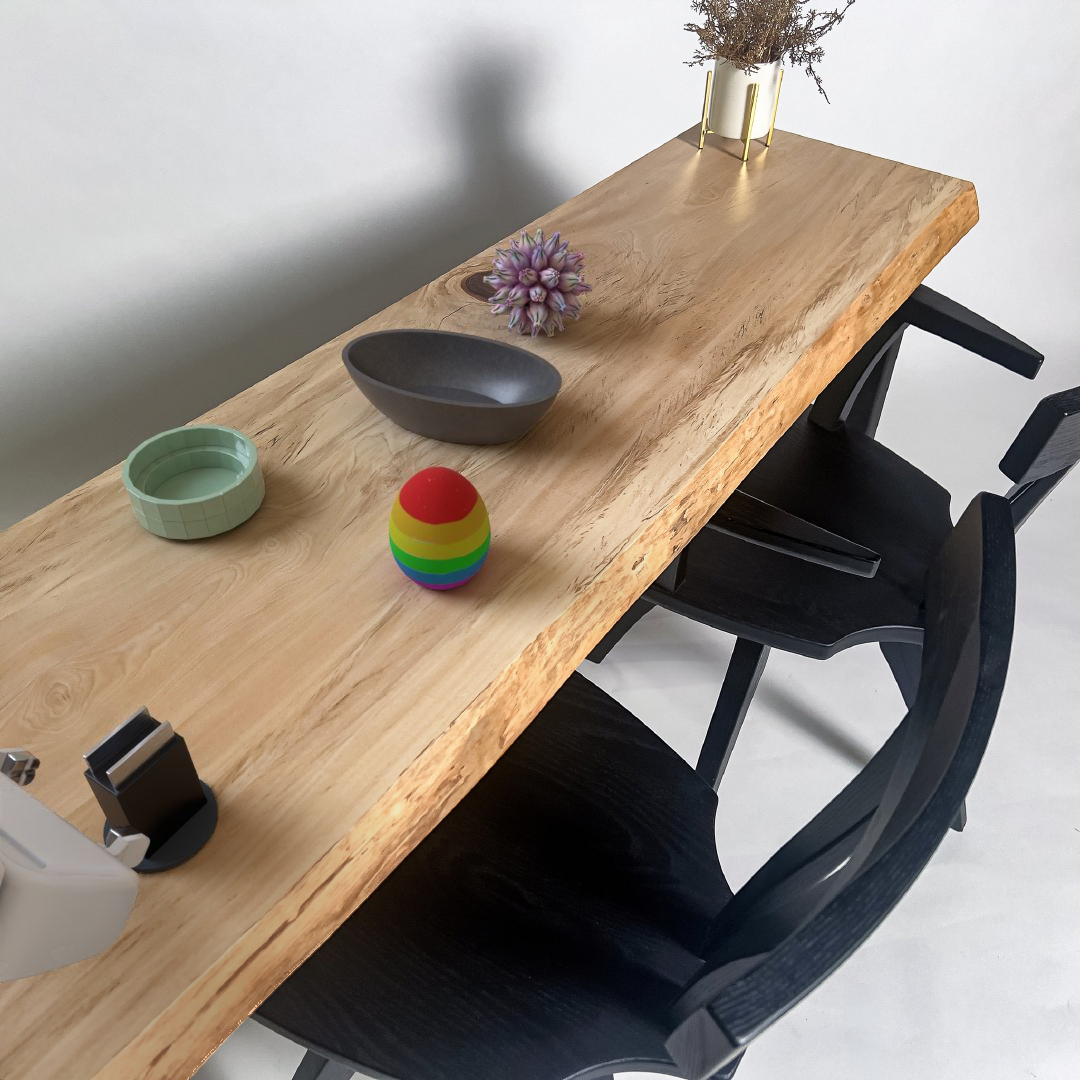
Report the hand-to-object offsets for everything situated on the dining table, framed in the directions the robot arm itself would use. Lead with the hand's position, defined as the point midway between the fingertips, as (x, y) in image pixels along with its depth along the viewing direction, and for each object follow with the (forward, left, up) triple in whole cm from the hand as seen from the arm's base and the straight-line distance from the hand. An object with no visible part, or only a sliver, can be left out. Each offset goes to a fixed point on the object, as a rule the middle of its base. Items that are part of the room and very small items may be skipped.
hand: (81, 804), depth 56 cm
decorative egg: (+33, +3, -7) cm, 34 cm away
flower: (+68, +22, -7) cm, 72 cm away
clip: (+4, 0, -6) cm, 7 cm away
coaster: (+4, 0, -7) cm, 8 cm away
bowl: (+49, +17, -7) cm, 52 cm away
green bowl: (+25, +25, -7) cm, 36 cm away
